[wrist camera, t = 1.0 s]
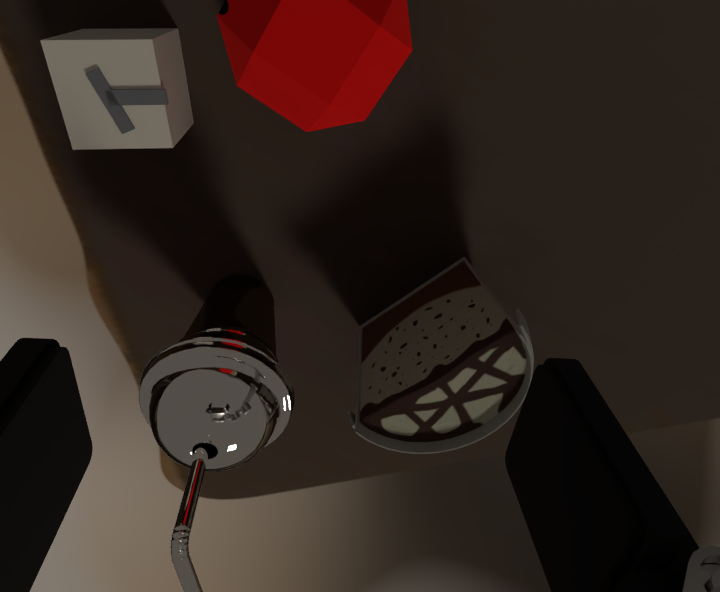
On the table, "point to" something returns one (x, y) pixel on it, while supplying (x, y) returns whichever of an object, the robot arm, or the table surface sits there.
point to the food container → (441, 366)
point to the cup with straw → (217, 395)
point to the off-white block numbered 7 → (120, 87)
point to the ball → (316, 55)
